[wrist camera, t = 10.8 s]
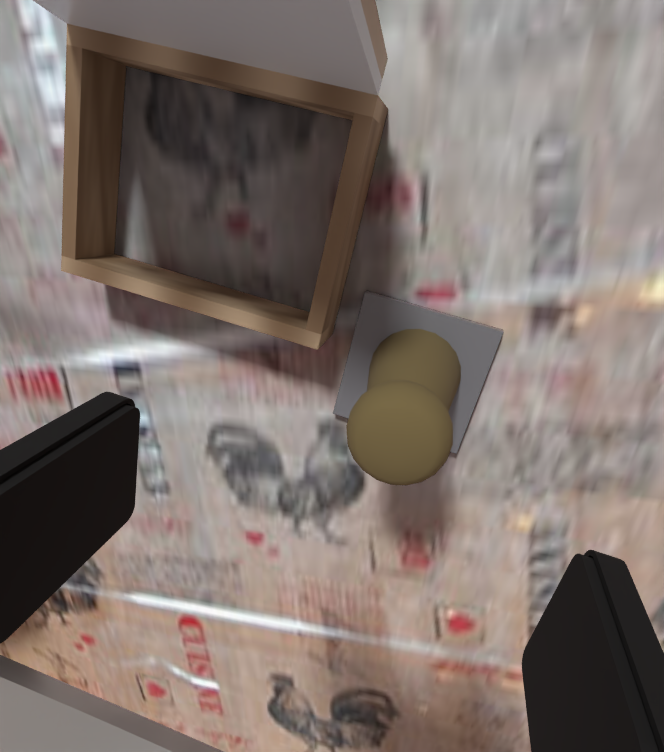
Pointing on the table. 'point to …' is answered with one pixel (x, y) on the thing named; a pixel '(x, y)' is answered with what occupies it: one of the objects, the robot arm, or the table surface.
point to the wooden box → (102, 165)
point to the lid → (252, 33)
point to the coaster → (395, 315)
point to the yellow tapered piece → (406, 408)
